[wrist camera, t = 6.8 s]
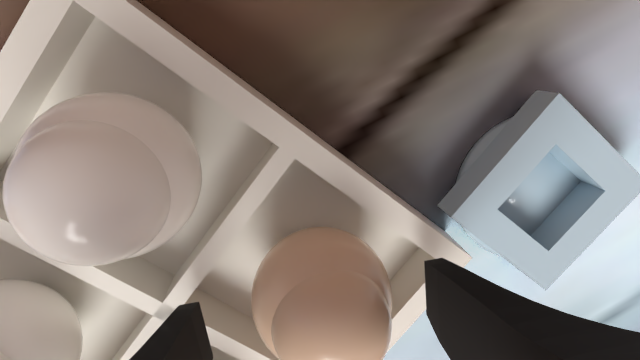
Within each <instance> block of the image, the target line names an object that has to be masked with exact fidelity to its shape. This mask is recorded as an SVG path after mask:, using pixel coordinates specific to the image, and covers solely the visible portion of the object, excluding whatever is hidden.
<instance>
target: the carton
mask: <svg viewBox="0 0 640 360" xmlns="http://www.w3.org/2000/svg"><path fill="white" fill-rule="evenodd" d="M97 92H116V93H124V94H129V95H133V96H136V97H140V98H143V99H145V100H148V101H150V102H152V103H154V104H156V105H158V106H160V107H161V108H163V109H165V110H166V111H167V112H169V113H170V114H171V115H172V116H174V117H175V118H176V119H177V120H178V121H179V122H180V123H181V124H182V125H183V127H184V128H185V129H186V130H187V132H188V133H189V135H190V136H191V138H192V140H193V142H194V144H195V146H196V148H197V151H198V154H199V157H200V162H201V168H202V186H201V192H200V195H199V199H198V203H197V205H196V207H195V210H194V212H193V213H192V215H191V217H190V218H189V220H188V221H187V223H186V224H185V225H184V226H183V228H182V229H181V230H180V231H179V232H178V233H177V234H176V235H175V236H174V237H172V238H171V239H170V240H169V241H167V242H166V243H164V244H163V245H161V246H160V247H158V248H156V249H154V250H152V251H150V252H148V253H145V254H142V255H140V256H137V257H133V258H128V259H123V260H120V261H117V262H114V263H110V264H105V265H97V266H76V265H69V264H65V263H60V262H57V261H54V260H51V259H49V258H47V257H45V256H43V255H41V254H39V253H37V252H36V251H34V250H33V249H32V248H30V247H29V246H28V245H27V244H26V243H24V242H23V241H22V240H21V238H20V237H19V236H18V235H17V234H16V232H15V231H14V229H13V228H12V226H11V224H10V222H9V220H8V218H7V215H6V212H5V209H4V204H3V195H2V189H3V182H4V177H5V174H6V171H7V168H8V166H9V164H10V162H11V160H12V158H13V156H14V152H15V149H16V147H17V145H18V143H19V141H20V139H21V137H22V135H23V134H24V133H25V131H26V130H27V128H28V127H29V126H30V124H31V123H32V122H33V121H34V120H35V119H36V118H37V117H38V116H40V115H41V114H42V113H44V112H45V111H47V110H48V109H49V108H51V107H52V106H54V105H56V104H58V103H60V102H62V101H64V100H67V99H70V98H73V97H76V96H78V95H83V94H88V93H97ZM311 227H333V228H337V229H341V230H344V231H347V232H349V233H352V234H353V235H355V236H357V237H359V238H360V239H362V240H363V241H364V242H365V243H367V244H368V245H369V246H370V247H371V248H372V249H373V250H374V252H375V253H376V254H377V255H378V257H379V258H380V260H381V261H382V263H383V265H384V267H385V269H386V271H387V274H388V277H389V280H390V283H391V290H392V311H391V318H392V332H391V340H390V343H389V347H388V350H387V352H388V351H389V350H390V348H391V347H392V346H393V345H394V344H395V343H396V342H397V341H398V340H399V338H400V337H401V336H402V335H403V334H404V333H405V332H406V331H407V330H408V329H409V327H410V326H411V325H412V324H413V323H414V322H415V321H416V320H417V319H418V317H419V316H420V315H421V314H422V313H423V312H424V311H425V310H426V290H425V267H424V261H427V260H432V259H438V258H444V259H446V260H449V261H451V262H453V263H455V264H457V265H459V266H461V267H463V268H464V267H465V265H466V264H467V263H468V262H469V261H470V260H471V259H472V257H471V256H470V255H469V254H468V253H467V252H466V251H465V250H464V249H463V248H462V247H461V246H460V245H459V244H458V243H457V242H456V241H455V240H454V239H453V238H451V237H450V236H449V235H448V234H447V233H446V232H445V231H444V230H443V229H441V228H440V227H439V226H437V225H436V224H435V223H433V222H432V221H431V220H429V219H428V218H427V217H425V216H424V215H423V214H421V213H420V212H419V211H417V210H416V209H415V208H413V207H412V206H411V205H409V204H408V203H407V202H405V201H404V200H403V199H401V198H400V197H399V196H397V195H396V194H394V193H393V192H392V191H390V190H389V189H388V188H386V187H385V186H384V185H382V184H381V183H380V182H378V181H377V180H376V179H374V178H373V177H372V176H370V175H369V174H368V173H366V172H365V171H364V170H362V169H361V168H360V167H358V166H357V165H356V164H354V163H353V162H352V161H350V160H349V159H348V158H346V157H345V156H344V155H342V154H341V153H340V152H338V151H337V150H336V149H334V148H333V147H332V146H330V145H329V144H328V143H326V142H325V141H324V140H322V139H321V138H320V137H318V136H317V135H316V134H314V133H313V132H312V131H310V130H309V129H308V128H306V127H305V126H304V125H302V124H301V123H300V122H298V121H297V120H296V119H294V118H293V117H292V116H290V115H289V114H288V113H286V112H285V111H284V110H282V109H281V108H280V107H278V106H277V105H276V104H274V103H273V102H272V101H270V100H269V99H268V98H266V97H265V96H264V95H262V94H261V93H260V92H258V91H257V90H256V89H254V88H253V87H252V86H250V85H249V84H248V83H246V82H245V81H244V80H242V79H241V78H240V77H238V76H237V75H236V74H234V73H233V72H232V71H230V70H229V69H228V68H226V67H225V66H224V65H222V64H221V63H220V62H218V61H217V60H216V59H214V58H213V57H212V56H210V55H209V54H208V53H206V52H205V51H204V50H202V49H201V48H200V47H198V46H197V45H196V44H194V43H193V42H192V41H190V40H189V39H188V38H186V37H185V36H183V35H182V34H181V33H179V32H178V31H177V30H175V29H174V28H173V27H171V26H170V25H169V24H167V23H166V22H165V21H163V20H162V19H161V18H159V17H158V16H157V15H155V14H154V13H153V12H151V11H150V10H149V9H147V8H146V7H145V6H143V5H142V4H141V3H139V2H138V1H137V0H30V1H29V3H28V5H27V7H26V8H25V10H24V12H23V13H22V15H21V17H20V19H19V20H18V22H17V24H16V26H15V27H14V29H13V31H12V33H11V34H10V36H9V38H8V40H7V41H6V43H5V45H4V47H3V48H2V50H1V52H0V279H21V280H29V281H34V282H37V283H40V284H43V285H45V286H48V287H50V288H52V289H53V290H55V291H57V292H58V293H59V294H61V295H62V296H63V297H64V298H65V299H67V300H68V302H69V303H70V304H71V305H72V307H73V308H74V310H75V312H76V314H77V316H78V318H79V320H80V324H81V328H82V336H83V343H82V352H81V357H80V360H129V359H130V358H131V357H132V356H133V355H134V354H135V353H136V352H137V351H138V350H139V349H140V348H141V347H142V346H143V345H144V344H145V342H146V341H147V340H148V339H149V338H150V337H151V336H152V335H153V334H154V332H155V331H156V330H157V329H158V328H159V327H160V326H161V325H162V323H163V322H164V321H165V320H166V319H167V318H168V317H169V316H170V314H171V313H172V312H173V311H174V310H175V309H176V308H177V307H178V306H179V305H183V304H188V303H194V302H199V303H200V307H201V311H202V315H203V318H204V322H205V326H206V330H207V334H208V338H209V341H210V345H211V349H212V353H213V360H280V359H278V358H277V357H276V356H275V355H274V354H273V353H272V352H271V351H270V350H269V349H268V348H267V346H266V345H265V343H264V342H263V341H262V339H261V337H260V335H259V333H258V331H257V329H256V326H255V323H254V320H253V315H252V308H251V292H252V286H253V281H254V278H255V275H256V272H257V269H258V267H259V265H260V263H261V262H262V260H263V259H264V257H265V256H266V254H267V253H268V252H269V251H270V249H271V248H272V247H273V246H274V245H276V244H277V243H278V242H279V241H280V240H282V239H283V238H285V237H286V236H288V235H290V234H292V233H294V232H297V231H299V230H302V229H306V228H311ZM387 352H386V353H387Z"/></svg>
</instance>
